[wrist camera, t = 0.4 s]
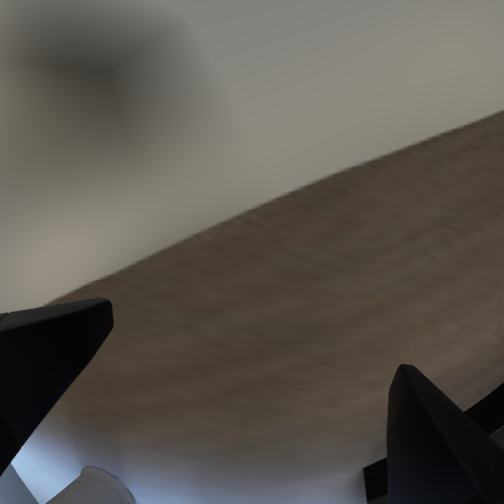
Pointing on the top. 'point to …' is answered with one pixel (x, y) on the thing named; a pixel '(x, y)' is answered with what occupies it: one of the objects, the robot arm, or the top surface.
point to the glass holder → (94, 489)
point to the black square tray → (482, 414)
